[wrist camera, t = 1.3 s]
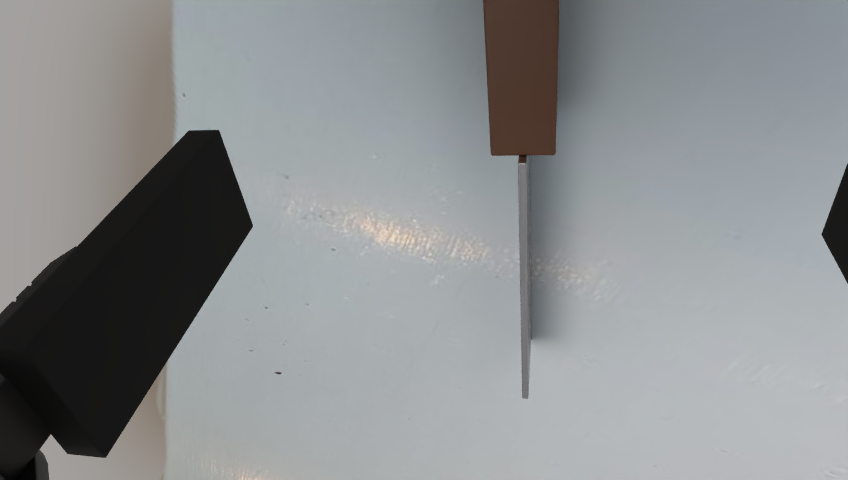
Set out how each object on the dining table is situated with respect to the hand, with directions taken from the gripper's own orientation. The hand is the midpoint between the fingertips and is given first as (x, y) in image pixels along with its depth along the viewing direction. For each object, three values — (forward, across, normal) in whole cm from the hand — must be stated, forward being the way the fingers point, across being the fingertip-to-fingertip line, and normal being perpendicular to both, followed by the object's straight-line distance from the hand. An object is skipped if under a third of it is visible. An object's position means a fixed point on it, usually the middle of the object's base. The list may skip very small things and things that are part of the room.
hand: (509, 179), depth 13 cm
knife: (+12, 0, -7) cm, 14 cm away
